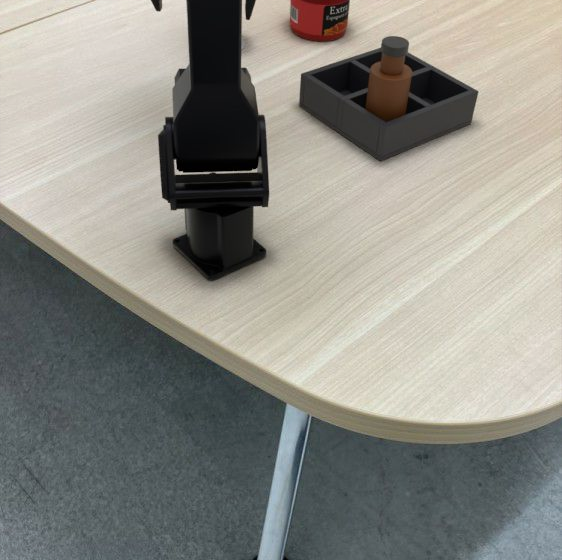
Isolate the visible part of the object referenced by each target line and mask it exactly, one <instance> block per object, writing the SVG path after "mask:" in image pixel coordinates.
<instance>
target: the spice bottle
mask: <svg viewBox="0 0 562 560" xmlns="http://www.w3.org/2000/svg"><path fill="white" fill-rule="evenodd" d="M409 47H410V42H409V40H408V39H407V38H405V37H402V36H398V35H389V36H384V37H383V38H382V40H381V44H380V48H381V52H382V58H381V62H377V63H375V64H373V65H372V66H371V69H370V76H369V84H368V92H367V100H366V108H365V110H367V111H369V112H370V113H372V114H373V115H375V116H376V117H378V118H380V119H381V120H383V121H384V122H388V121H391V120H394V119H396V118H399V117H401V116H404V115H405V114H406V108H407V102H408V96H409V90H410V84H411V78H412V70H411V68H410V67H408V66H407V65H405V64H404V61H405V55H407V53H409Z"/></svg>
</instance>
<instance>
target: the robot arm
mask: <svg viewBox="0 0 562 560" xmlns="http://www.w3.org/2000/svg"><path fill="white" fill-rule="evenodd" d="M150 1H151V4H152V6H153V7H154V10H155V11H156V12H158V13H159V12H162V9H163V0H150ZM185 2H186V20H187V21H186V24H187V45H188V48H187V49H188V65H187V66H186V68H178V69H177V72H176V74H175V76H174V81H173V82H174V85H173V86H172V89H171V95H172V97H171V98H172V116H165V117H164V123H165V124H163V125H162V130H161V131H160V132H159V133H158V134H157V139H158V144H157V145H158V157H159V159H158V160H159V173H160V176H159V177H160V185H161V186H160V187H161V188H160V189H161V198H162V199H163V200H165V201H167V204H169V206H170V211H177V210H184V224H185V231H186V233H185V234H182V235H180V236H178V237H175V238H173V240H172V247H174V248H175V250H177V251H178V252H179V253H180V254H181V255H182V256H183V257H184V258H185V259H186V260H187V262H189V263H190V264H191V265H192V266H193V267H194V268H195V269H197V271H198V272H200V273H201V274H202V275H203V276H204V277H205V279H208V280H210V281H211V280H212V281H213V280H215V279H218V278H220V277H222V276H225V275H227V274H229V273H231V272H234V271H236V270H238V269H241V268H242V267H245V266H247V265H250V264H251V263H254V262H257V261H258V260H260V259H263V258H265V257H266V256H267V248H265V246H263V245H262V244H261V243H260V242H258V241H257V240H256V239H255V238H254V213H255V211H254V209H255V208H254V207H261V208H269V201H270V178H269V162H268V161H269V160H268V159H269V158H268V157H269V156H268V140H267V123H266V117H265V114H259V108H258V101H257V94H256V88H255V86H254V84H253V82H252V76H251V74H250V72H249V70H248V68H247V67H242V50H241V40H242V36H243V35H242V31H243V29H242V28H243V0H185ZM256 2H257V0H245V3H244V12H245V21H250V20H251V18H252V14H253V11H254V8H255V5H256ZM176 170H177V171H178V172H182V173H183V174H176ZM253 170H256V171H257V172H256V171H255V172H252V171H253Z"/></svg>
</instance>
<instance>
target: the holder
mask: <svg viewBox="0 0 562 560" xmlns="http://www.w3.org/2000/svg"><path fill="white" fill-rule="evenodd" d="M381 58H382V52H381V47H377V48H375V49H372V50H368V51H366V52H363V53H359V54H356V55H354V56H350V57H348V58H345V59H341V60H338V61H335V62H332V63H329V64H327V65H324V66H320V67H318V68H314V69H311V70H308V71H305V72H302V73H301V74H300V82H299V83H300V84H299V99H298V101H299V102H298V107H299V108H301V109H303V110H304V111H305V112H306V113H308V114H310V115H311V116H313V117H314V118H316V119H317V120H319V121H320V122H321V123H323V124H325V125H326V126H328V127H329V128H331V130H333V131H335V132H336V133H338V134H339V135H340V136H343V137H344V138H345V139H346V140H348V141H350V142H351V143H353V144H355V146H357V147H358V148H360V149H362V150H363V151H364V152H366V153H367V154H369V155H371V156H372V157H374V158H375V159H377V160H378V161H379V162H382V161H384V160H387V159H390V158H392V157H395V156H397V155H399V154H402V153H404V152H406V151H409V150H411V149H413V148H416V147H418V146H421V145H424V144H426V143H428V142H430V141H433V140H435V139H438V138H441V137H442V136H445V135H447V134H450V133H453V132H455V131H457V130H459V129H463V128H464V127H467V126H470V125H471V124H472V122H473V117H474V112H475V108H476V104H477V100H478V96H479V90H477V89H475V88H474V87H472V86H470V85H469V84H466V83H465V82H463V81H461V80H459V79H457V78H456V77H454V76H453V75H450V74H449V73H446V72H445V71H443V70H441V69H439V68H437V67H435V66H434V65H432V64H430V63H429V62H427V61H425V60H423V59H421V58H419V57H417V56H416V55H414V54H412V53H410V52H408V53H407V55H405V61H404V64H405V65H407V66H408V67H410V68H411V70H412V78H411V84H410V90H409V96H408V102H407V108H406V114H405V115H404V116H401V117H399V118H396V119H394V120H391V121H388V122H384V121H383V120H381V119H380V118H378V117H376V116H375V115H373V114H372V113H370V112H369V111H367V110H365V108H366V100H367V92H368V84H369V76H370V69H371V66H372V65H373V64H375V63H377V62H381Z"/></svg>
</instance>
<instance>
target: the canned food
mask: <svg viewBox="0 0 562 560" xmlns="http://www.w3.org/2000/svg"><path fill="white" fill-rule="evenodd" d="M350 3H351V0H290V4H289V24H290V25H289V26H290V29H291V31H292V32H293V33H294V34H295V35H296V36H298V37H300V38H302V39H306V40H310V41H314V42H315V41H316V42H329V41H335V40H338V39H339V38H341V37H343V36H344V35H345V33H346V31H347V29H348V24H349V23H348V22H349V13H350Z"/></svg>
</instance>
